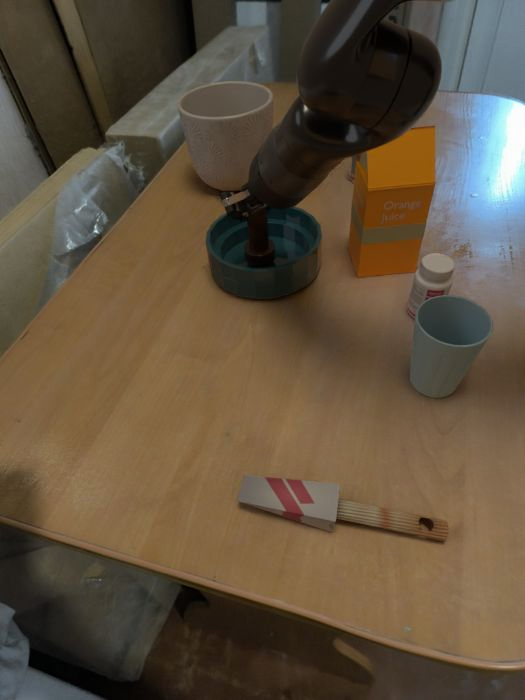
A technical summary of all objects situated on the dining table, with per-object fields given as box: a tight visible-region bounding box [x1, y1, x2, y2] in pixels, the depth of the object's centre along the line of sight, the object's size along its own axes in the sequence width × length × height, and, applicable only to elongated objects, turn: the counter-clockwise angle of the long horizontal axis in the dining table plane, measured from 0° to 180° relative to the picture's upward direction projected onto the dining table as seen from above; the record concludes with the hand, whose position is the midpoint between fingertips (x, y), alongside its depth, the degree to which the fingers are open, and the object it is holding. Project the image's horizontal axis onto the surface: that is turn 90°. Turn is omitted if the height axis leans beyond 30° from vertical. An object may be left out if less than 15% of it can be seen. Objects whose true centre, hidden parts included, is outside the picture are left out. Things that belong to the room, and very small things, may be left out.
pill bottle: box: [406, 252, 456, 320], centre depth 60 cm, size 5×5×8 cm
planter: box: [176, 80, 274, 192], centre depth 85 cm, size 17×17×15 cm
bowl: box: [204, 206, 323, 300], centre depth 70 cm, size 17×17×6 cm
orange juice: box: [347, 125, 437, 278], centre depth 64 cm, size 8×9×20 cm
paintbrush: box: [236, 474, 449, 542], centre depth 44 cm, size 4×3×20 cm
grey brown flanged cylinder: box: [244, 207, 276, 266], centre depth 67 cm, size 5×5×11 cm
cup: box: [409, 294, 494, 399], centre depth 51 cm, size 8×8×10 cm
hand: (250, 211), depth 67 cm, fingers closed on grey brown flanged cylinder, 3 cm apart
